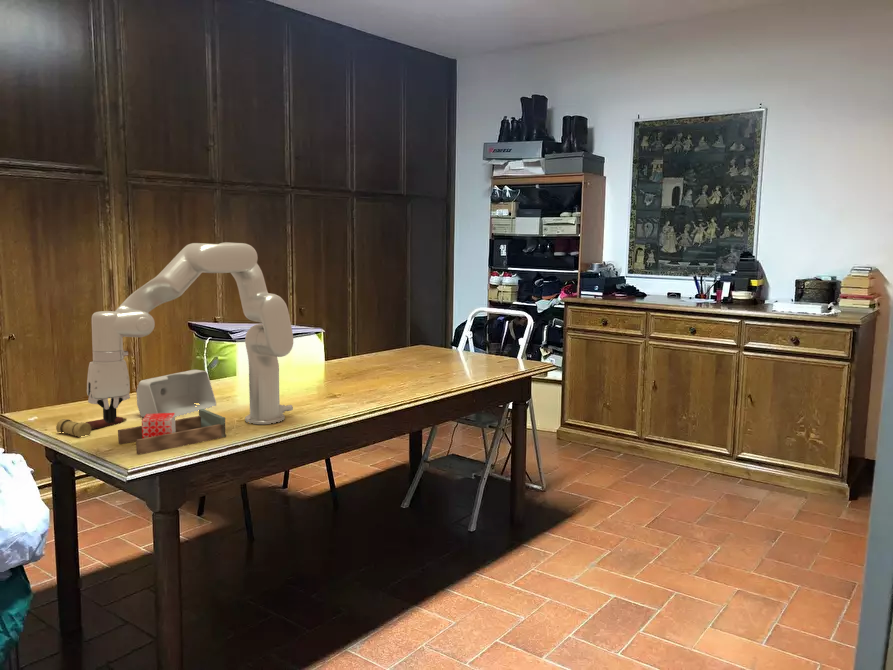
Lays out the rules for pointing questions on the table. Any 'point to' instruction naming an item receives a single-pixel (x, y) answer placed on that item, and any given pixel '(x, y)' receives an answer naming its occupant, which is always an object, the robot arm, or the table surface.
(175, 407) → the grey open box shell
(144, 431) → the red patterned cube
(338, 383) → the table surface
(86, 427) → the gavel
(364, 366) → the table surface
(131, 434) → the crate bay
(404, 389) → the table surface
